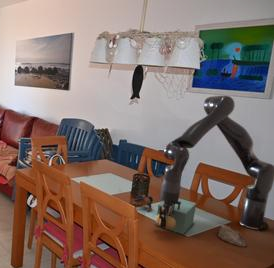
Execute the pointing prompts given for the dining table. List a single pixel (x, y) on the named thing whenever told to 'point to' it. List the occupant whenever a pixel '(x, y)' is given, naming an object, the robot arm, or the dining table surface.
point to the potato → (169, 223)
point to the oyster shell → (230, 236)
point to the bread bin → (181, 220)
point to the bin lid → (181, 206)
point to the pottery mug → (148, 202)
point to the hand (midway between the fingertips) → (164, 225)
